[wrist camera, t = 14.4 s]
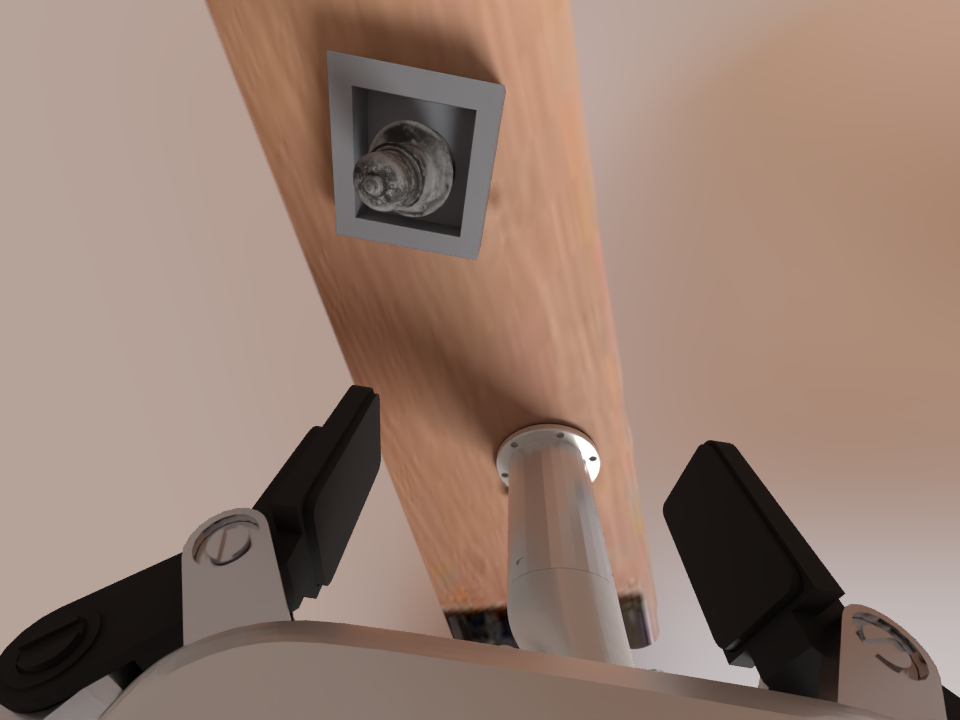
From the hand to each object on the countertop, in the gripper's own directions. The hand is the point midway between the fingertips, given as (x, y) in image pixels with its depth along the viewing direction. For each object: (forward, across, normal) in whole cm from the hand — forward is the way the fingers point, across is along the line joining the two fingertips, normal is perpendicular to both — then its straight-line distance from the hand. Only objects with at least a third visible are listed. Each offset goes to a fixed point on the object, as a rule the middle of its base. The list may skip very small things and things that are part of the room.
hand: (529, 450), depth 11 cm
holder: (+24, +9, -6) cm, 26 cm away
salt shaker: (+23, +9, -6) cm, 25 cm away
